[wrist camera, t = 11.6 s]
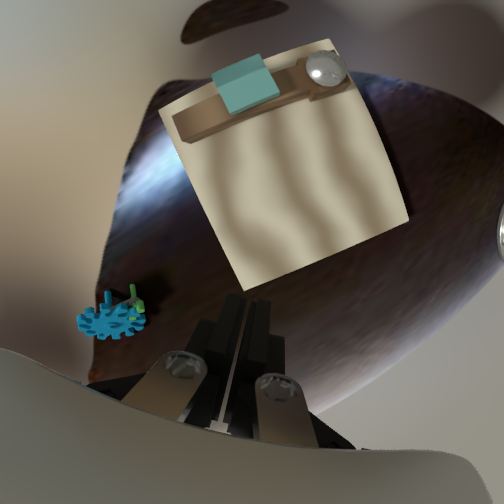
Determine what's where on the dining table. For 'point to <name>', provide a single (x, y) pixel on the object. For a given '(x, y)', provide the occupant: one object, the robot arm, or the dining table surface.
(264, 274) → the board
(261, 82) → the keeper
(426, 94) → the dining table surface
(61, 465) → the robot arm
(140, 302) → the gear
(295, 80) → the link
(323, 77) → the disc
